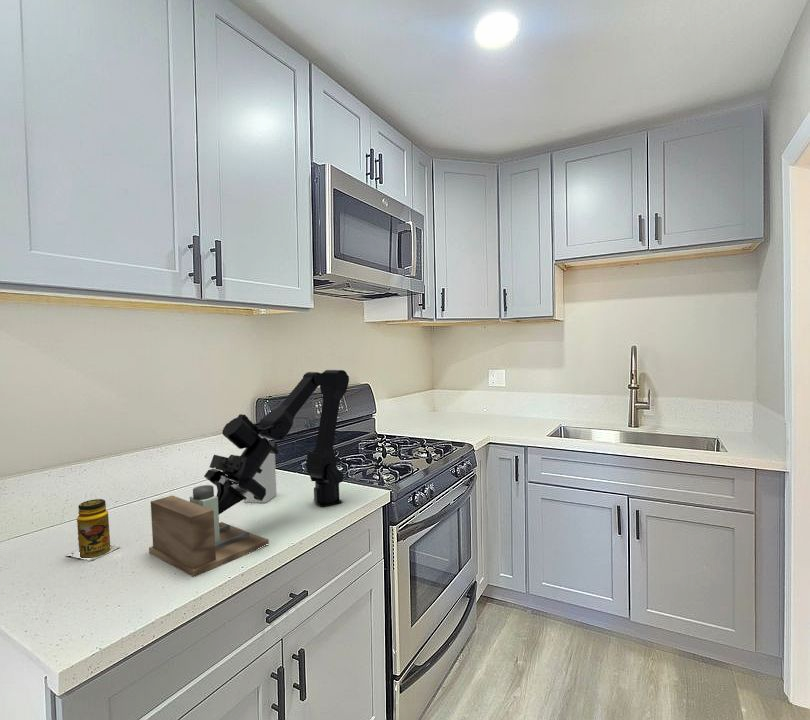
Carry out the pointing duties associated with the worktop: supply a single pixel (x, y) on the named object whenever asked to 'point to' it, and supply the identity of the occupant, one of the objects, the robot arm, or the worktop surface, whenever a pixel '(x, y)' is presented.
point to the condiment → (93, 529)
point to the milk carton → (265, 479)
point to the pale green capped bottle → (208, 504)
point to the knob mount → (195, 536)
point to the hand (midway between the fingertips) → (212, 515)
